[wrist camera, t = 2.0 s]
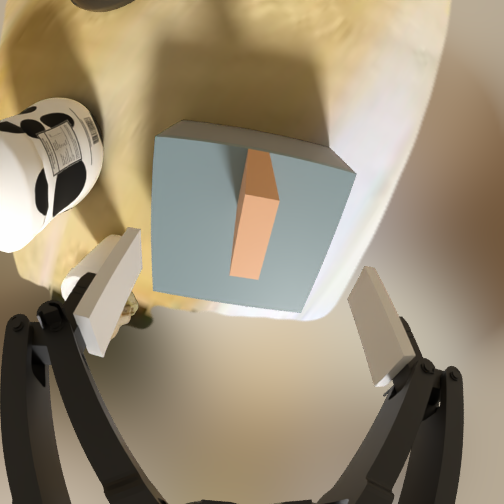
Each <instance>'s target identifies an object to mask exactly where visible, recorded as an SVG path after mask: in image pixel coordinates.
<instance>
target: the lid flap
mask: <svg viewBox="0 0 504 504" xmlns="http://www.w3.org/2000/svg"><path fill="white" fill-rule="evenodd" d="M355 177H356V173H355V172H354V171H352V170H349V169H345V168H342V167H338V166H334V165H330V164H327V163H323V162H319V161H315V160H311V159H307V158H303V157H298V156H294V155H289V154H285V153H280V152H275V151H271V150H266V149H260V148H255V147H250V146H244V145H238V144H232V143H226V142H219V141H213V140H205V139H198V138H190V137H181V136H172V135H161V134H158V135H156V136H155V144H154V158H153V175H152V203H151V248H152V277H153V291H157V292H162V293H167V294H173V295H178V296H184V297H190V298H196V299H202V300H208V301H215V302H221V303H228V304H235V305H242V306H249V307H256V308H264V309H272V310H280V311H288V312H297V313H301V311H302V309H303V307H304V305H305V303H306V300H307V298H308V296H309V294H310V291H311V289H312V287H313V285H314V282H315V280H316V278H317V275H318V273H319V271H320V268H321V266H322V264H323V261H324V259H325V256H326V254H327V251H328V249H329V246H330V244H331V241H332V239H333V236H334V234H335V231H336V229H337V226H338V224H339V221H340V218H341V216H342V213H343V210H344V208H345V205H346V202H347V200H348V197H349V194H350V191H351V188H352V186H353V183H354V180H355Z"/></svg>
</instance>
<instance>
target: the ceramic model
mask: <svg viewBox="0 0 504 504" xmlns="http://www.w3.org/2000/svg"><path fill="white" fill-rule="evenodd" d="M137 309H138V303H137V302H136V299H135V297H134V295H133V293H132V292H131V293H130V295H129V297H128V299H127V302H126V304H125V306H124V308H123V311H122V313H121V315H120V317H119V320H118V322H117V324H116V327H115V329H114V332H113V334H112V336H111V339H112V338H114V337H115V335H116V334H117V332H118V330H119V327H120V326H121V325H123V324H126V323H128V322H129V321H130V318H131V315H134V314H135V312H136V310H137ZM111 339H110V340H111Z"/></svg>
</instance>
